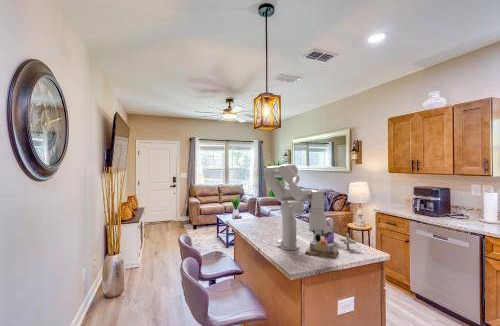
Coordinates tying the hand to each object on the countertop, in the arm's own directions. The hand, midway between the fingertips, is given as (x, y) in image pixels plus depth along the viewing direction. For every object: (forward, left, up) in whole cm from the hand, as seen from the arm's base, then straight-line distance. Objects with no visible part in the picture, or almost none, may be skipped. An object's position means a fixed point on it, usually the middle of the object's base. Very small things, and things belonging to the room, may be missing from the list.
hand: (318, 241), depth 153 cm
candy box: (-4, +36, -10) cm, 38 cm away
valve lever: (+2, +5, -2) cm, 5 cm away
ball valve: (0, +9, -9) cm, 13 cm away
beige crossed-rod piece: (+14, +25, -10) cm, 31 cm away
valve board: (0, +9, -10) cm, 14 cm away
